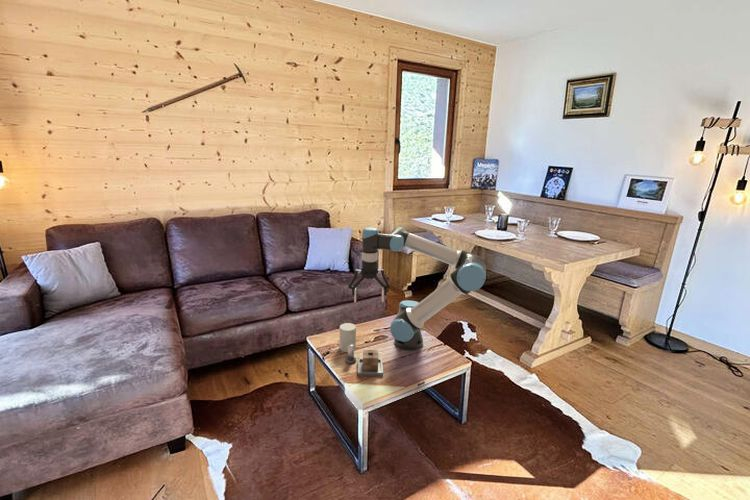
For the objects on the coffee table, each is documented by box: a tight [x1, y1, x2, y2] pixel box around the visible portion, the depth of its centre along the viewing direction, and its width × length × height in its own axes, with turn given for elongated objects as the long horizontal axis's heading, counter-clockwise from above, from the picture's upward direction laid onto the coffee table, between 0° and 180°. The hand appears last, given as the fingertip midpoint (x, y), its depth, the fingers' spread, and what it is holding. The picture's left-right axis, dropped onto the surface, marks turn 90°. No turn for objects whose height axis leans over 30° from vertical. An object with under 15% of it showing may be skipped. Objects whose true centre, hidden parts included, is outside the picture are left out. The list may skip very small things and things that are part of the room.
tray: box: [357, 358, 384, 377], centre depth 176 cm, size 11×11×2 cm
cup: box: [339, 322, 357, 353], centre depth 192 cm, size 8×8×12 cm
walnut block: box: [362, 349, 379, 372], centre depth 175 cm, size 7×7×7 cm
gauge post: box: [345, 344, 357, 365], centre depth 181 cm, size 5×5×8 cm
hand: (368, 301), depth 186 cm, fingers open, 13 cm apart
